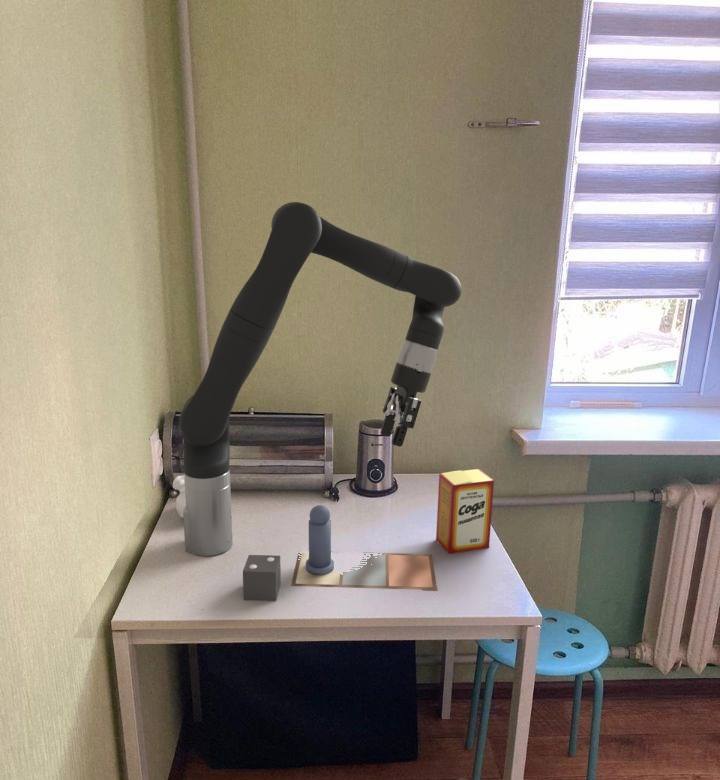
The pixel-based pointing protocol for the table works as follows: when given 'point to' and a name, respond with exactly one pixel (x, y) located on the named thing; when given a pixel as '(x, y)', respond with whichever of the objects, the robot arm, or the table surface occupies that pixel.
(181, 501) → the duck figurine
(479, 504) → the baking soda box
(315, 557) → the pawn
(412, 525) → the table surface
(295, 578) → the game board
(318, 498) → the table surface
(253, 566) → the die
